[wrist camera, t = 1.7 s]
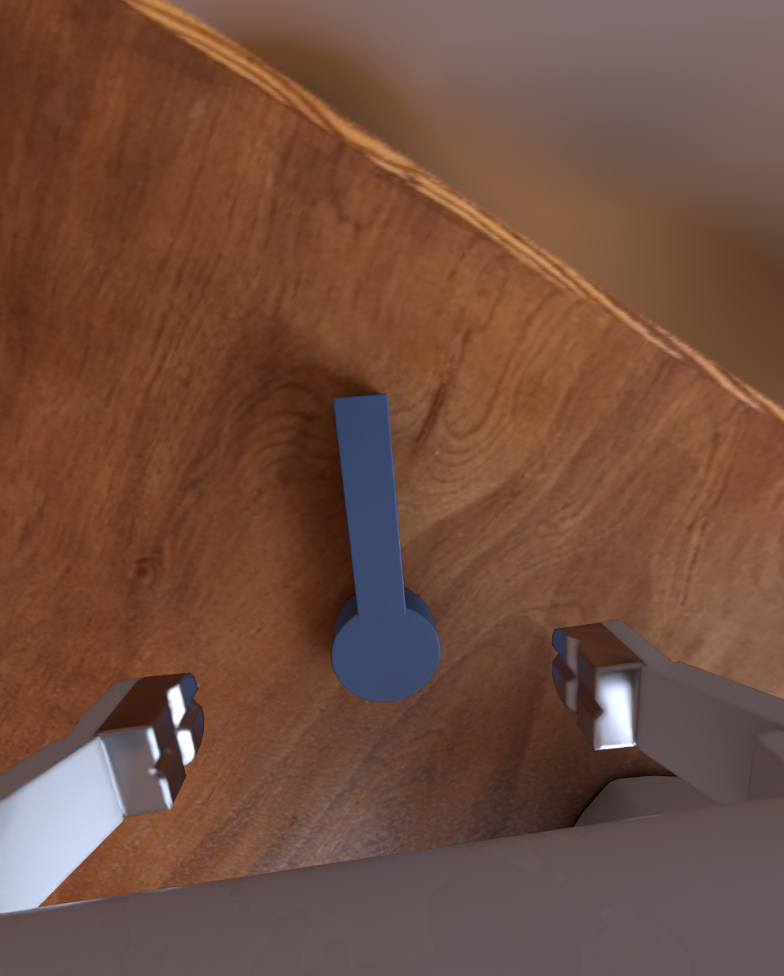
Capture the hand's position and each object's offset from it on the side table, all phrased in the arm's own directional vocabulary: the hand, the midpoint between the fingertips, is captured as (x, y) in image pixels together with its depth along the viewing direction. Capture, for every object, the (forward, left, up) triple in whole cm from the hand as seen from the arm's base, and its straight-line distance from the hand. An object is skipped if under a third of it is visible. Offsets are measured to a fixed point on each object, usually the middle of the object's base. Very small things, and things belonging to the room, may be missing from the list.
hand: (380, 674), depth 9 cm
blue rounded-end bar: (+1, 0, -10) cm, 10 cm away
